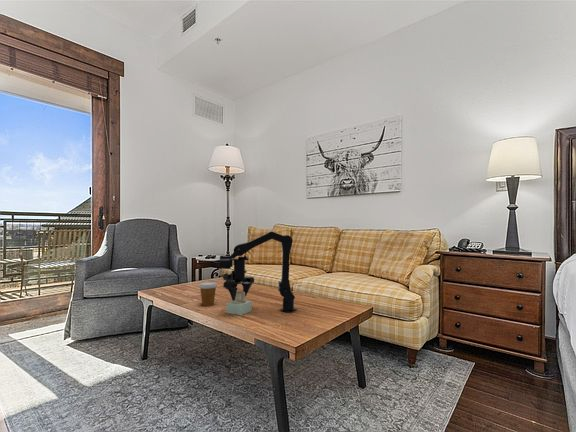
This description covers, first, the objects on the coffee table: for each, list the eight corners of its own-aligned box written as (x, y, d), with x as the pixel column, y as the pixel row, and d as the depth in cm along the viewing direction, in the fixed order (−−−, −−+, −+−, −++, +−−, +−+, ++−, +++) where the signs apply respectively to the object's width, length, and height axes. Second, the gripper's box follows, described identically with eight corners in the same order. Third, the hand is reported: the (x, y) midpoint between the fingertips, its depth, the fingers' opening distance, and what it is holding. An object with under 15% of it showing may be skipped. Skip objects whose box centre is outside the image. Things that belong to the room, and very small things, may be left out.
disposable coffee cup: (205, 302, 179) (205, 281, 179) (219, 303, 176) (219, 282, 177) (195, 306, 170) (196, 284, 170) (211, 307, 167) (211, 285, 167)
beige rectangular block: (238, 310, 162) (238, 291, 163) (244, 311, 160) (245, 292, 161) (233, 312, 159) (234, 292, 159) (240, 313, 157) (240, 293, 157)
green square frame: (237, 308, 166) (237, 299, 166) (251, 310, 161) (251, 301, 161) (226, 312, 158) (226, 302, 158) (240, 315, 153) (240, 305, 153)
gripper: (238, 265, 172) (238, 293, 172) (215, 269, 156) (215, 300, 155) (254, 266, 167) (254, 295, 166) (232, 271, 150) (232, 303, 150)
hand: (239, 298), depth 160 cm, fingers open, 9 cm apart
